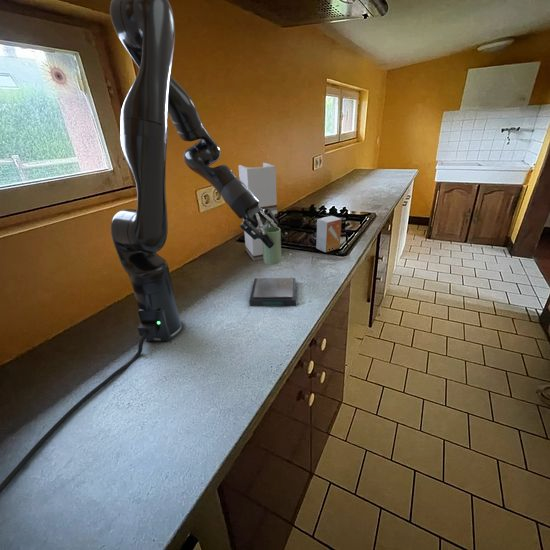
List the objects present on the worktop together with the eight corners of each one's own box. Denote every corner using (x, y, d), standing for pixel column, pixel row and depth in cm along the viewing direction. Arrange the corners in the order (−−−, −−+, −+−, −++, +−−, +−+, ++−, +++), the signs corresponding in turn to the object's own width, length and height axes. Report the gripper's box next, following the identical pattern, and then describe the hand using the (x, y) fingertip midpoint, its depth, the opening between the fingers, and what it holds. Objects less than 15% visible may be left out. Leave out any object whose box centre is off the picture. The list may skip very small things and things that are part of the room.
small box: (325, 253, 124) (327, 222, 118) (315, 248, 129) (316, 218, 123) (340, 248, 128) (342, 218, 122) (329, 244, 133) (331, 215, 127)
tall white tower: (278, 256, 124) (275, 166, 107) (253, 260, 120) (246, 168, 104) (269, 246, 133) (265, 162, 117) (246, 250, 130) (238, 165, 114)
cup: (281, 264, 89) (280, 232, 85) (262, 264, 90) (260, 232, 85) (281, 256, 94) (280, 226, 89) (264, 257, 94) (262, 226, 90)
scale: (296, 306, 90) (296, 299, 89) (249, 306, 91) (249, 299, 90) (295, 283, 103) (295, 276, 102) (254, 283, 104) (254, 276, 103)
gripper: (231, 195, 80) (273, 244, 80) (259, 184, 91) (295, 227, 91) (218, 213, 85) (257, 259, 85) (246, 200, 96) (280, 241, 96)
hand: (277, 242), depth 88 cm, fingers closed on cup, 5 cm apart
